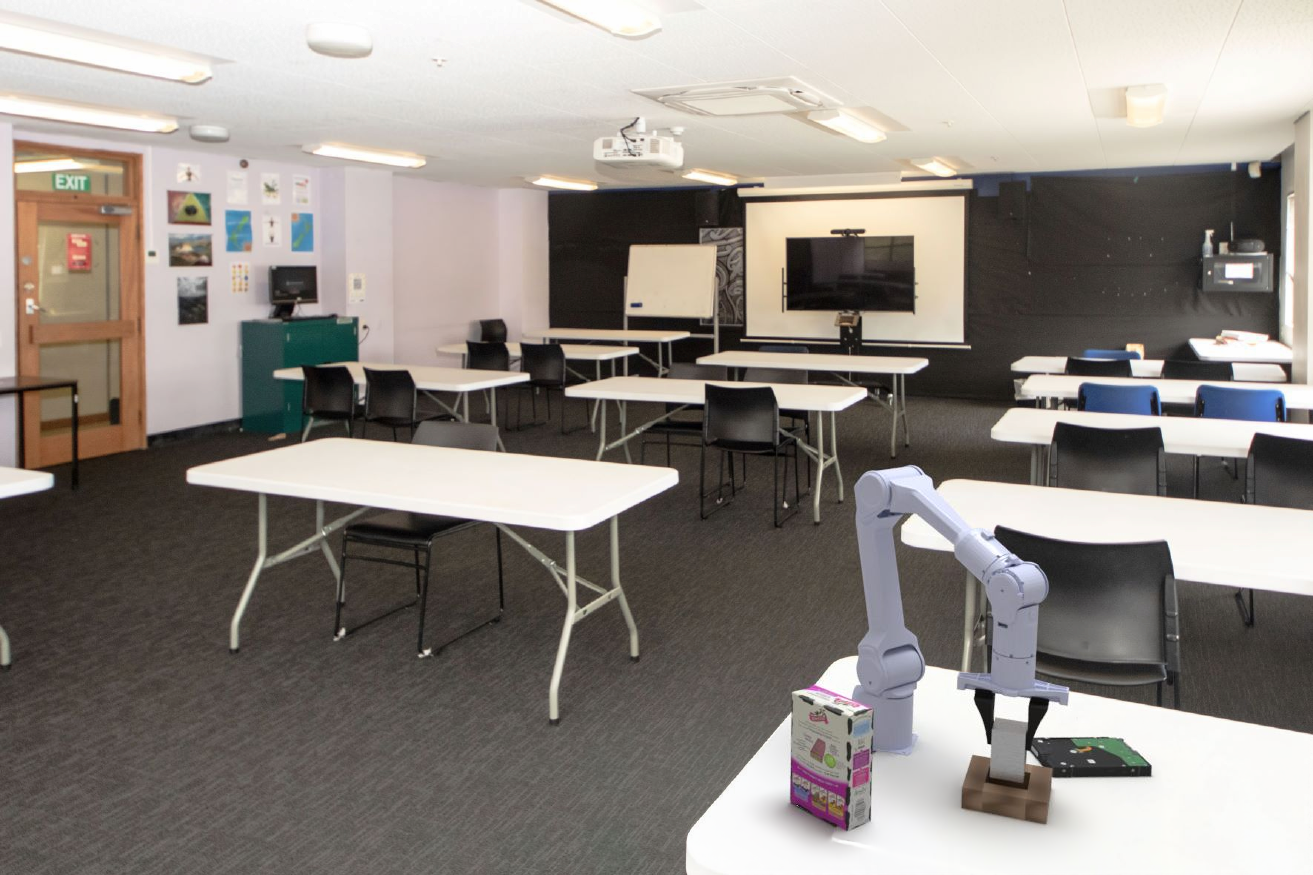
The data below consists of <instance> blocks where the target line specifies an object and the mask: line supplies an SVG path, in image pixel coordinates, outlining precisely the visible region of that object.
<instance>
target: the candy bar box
mask: <svg viewBox="0 0 1313 875" xmlns="http://www.w3.org/2000/svg"><path fill="white" fill-rule="evenodd" d="M873 717H874V708H872V707H869V706H867V705H864V704H862V703H859V702H857V701H854V700H852V698H849V697H847V696H844V695H842V694H839V693H836V692H833V691H831V690H828V689H826V688H823V687H821V686H819V685H816V684H814V685H810V686H808V687H804V688H801V689H798V690H795V691H792V692H791V718H790V719H791V720H790V721H791V722H790V723H791V725H790V732H791V733H790V775H789V776H790V777H789V778H790V782H789V783H790V784H789V786H790V787H789V791H790V792H789V802H790V801H791V802H792V803H794V804H795V805H794V804H793V805H794V806H796V805H798V806H799V807H801V808H803V809H804V810H803V809H802V810H803V811H805V810H806V811H805V812H807V811H808V812H807V813H809V814H811V815H813V816H814V815H815V816H814V817H816V816H817V818H818V817H819V819H820V820H822V821H824V822H826V823H827V824H829V825H830V826H831V825H832V826H833V827H835V828H837V826H838V827H839V828H840V829H842V830H845V831H847V832H849V831H851V830H854V829H856V828H858V827H860V826H863V825H865V824H867V823H869V822H872V821H871V820H872V790H873V789H872V784H873V782H872V780H873V752H874V751H873ZM791 802H790V803H791ZM792 803H791V804H792ZM798 806H797V807H798ZM799 807H798V808H799ZM801 808H800V809H801Z"/></svg>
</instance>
